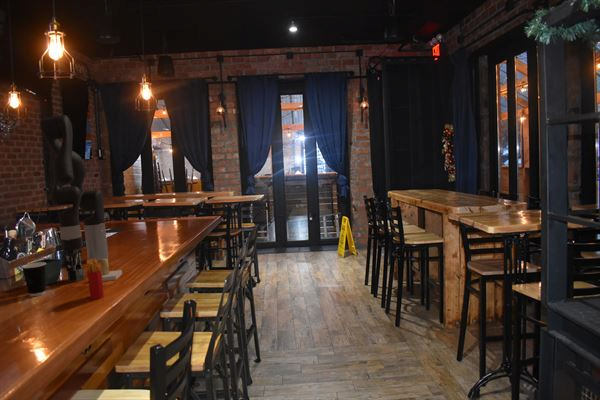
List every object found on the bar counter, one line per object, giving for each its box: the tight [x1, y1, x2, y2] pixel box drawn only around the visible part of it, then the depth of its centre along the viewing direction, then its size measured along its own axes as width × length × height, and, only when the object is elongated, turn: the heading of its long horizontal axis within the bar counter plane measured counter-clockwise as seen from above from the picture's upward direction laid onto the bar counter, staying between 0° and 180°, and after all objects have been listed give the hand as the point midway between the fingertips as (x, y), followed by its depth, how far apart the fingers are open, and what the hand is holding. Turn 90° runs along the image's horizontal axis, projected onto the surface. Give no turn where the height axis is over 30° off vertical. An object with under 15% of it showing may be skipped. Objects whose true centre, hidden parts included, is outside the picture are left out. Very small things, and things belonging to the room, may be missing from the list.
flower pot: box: [27, 258, 62, 286], centre depth 193 cm, size 9×9×9 cm
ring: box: [66, 266, 86, 283], centre depth 196 cm, size 6×6×4 cm
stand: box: [100, 258, 123, 282], centre depth 195 cm, size 10×10×8 cm
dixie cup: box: [20, 262, 47, 297], centre depth 177 cm, size 8×8×11 cm
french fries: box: [86, 258, 105, 301], centre depth 168 cm, size 9×4×13 cm, turn 19°
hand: (76, 278), depth 196 cm, fingers closed on ring, 6 cm apart
